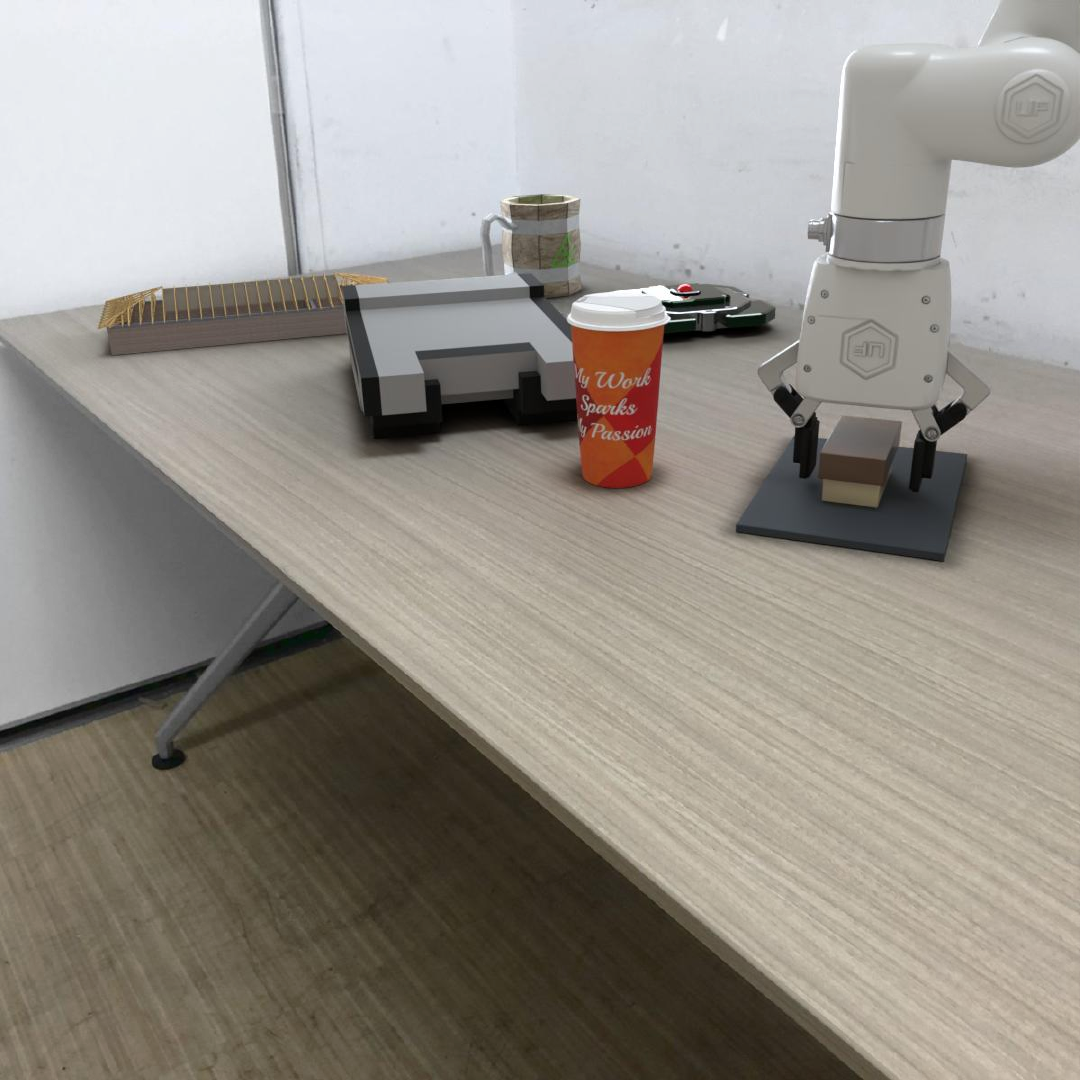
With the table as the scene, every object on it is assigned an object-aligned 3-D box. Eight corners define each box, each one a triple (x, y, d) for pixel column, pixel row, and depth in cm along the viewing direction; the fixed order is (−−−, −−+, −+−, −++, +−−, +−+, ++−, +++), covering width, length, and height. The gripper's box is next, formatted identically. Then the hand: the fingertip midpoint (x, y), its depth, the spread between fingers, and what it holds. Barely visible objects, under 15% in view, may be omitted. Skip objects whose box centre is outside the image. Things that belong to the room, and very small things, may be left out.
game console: (368, 458, 94) (359, 363, 91) (348, 360, 123) (341, 286, 119) (605, 435, 98) (605, 343, 94) (533, 345, 126) (531, 273, 123)
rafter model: (388, 304, 148) (384, 257, 145) (407, 329, 135) (403, 278, 132) (110, 329, 139) (101, 279, 137) (103, 357, 127) (92, 304, 124)
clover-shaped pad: (785, 333, 128) (788, 293, 127) (637, 347, 125) (637, 306, 123) (724, 301, 144) (726, 265, 142) (591, 312, 141) (591, 275, 139)
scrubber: (836, 462, 89) (841, 414, 87) (896, 469, 87) (902, 421, 85) (815, 504, 81) (819, 452, 80) (880, 512, 80) (886, 460, 78)
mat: (793, 441, 95) (793, 435, 95) (966, 460, 90) (967, 453, 90) (735, 531, 79) (735, 524, 78) (943, 561, 74) (944, 553, 73)
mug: (544, 278, 160) (542, 191, 155) (598, 288, 153) (597, 198, 148) (459, 296, 151) (454, 205, 146) (512, 308, 144) (508, 212, 139)
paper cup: (555, 486, 87) (551, 309, 82) (587, 454, 94) (586, 287, 88) (651, 498, 85) (654, 315, 79) (677, 464, 91) (682, 293, 85)
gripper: (746, 243, 77) (734, 482, 84) (1018, 255, 70) (980, 513, 78) (770, 226, 83) (757, 450, 90) (1022, 236, 76) (986, 476, 84)
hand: (860, 477), depth 84 cm, fingers open, 7 cm apart
